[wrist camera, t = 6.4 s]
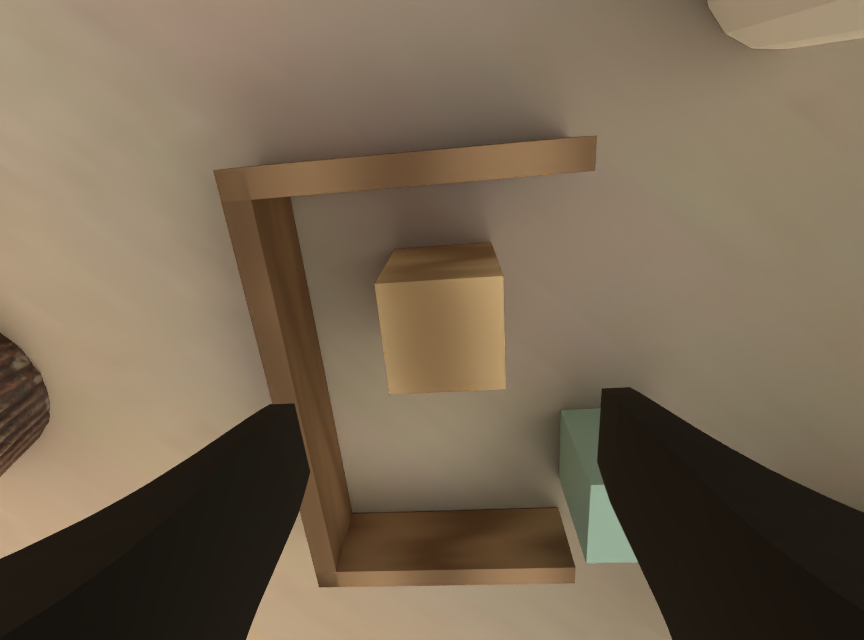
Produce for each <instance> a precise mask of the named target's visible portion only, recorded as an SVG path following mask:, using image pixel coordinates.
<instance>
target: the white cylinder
mask: <svg viewBox="0 0 864 640" xmlns="http://www.w3.org/2000/svg"><path fill="white" fill-rule="evenodd" d="M707 3H708V7H709V9H710V10H711V12H712V14H713V15H714V17H715V18H716V20H717V22H718V23H719V25H720V26H721V28H722V30H723V31H724V33H725V34H727V35H728V36H730V37H732V38H734V39H735V40H737V41H739V42H741V43H743V44H744V45H746V46H748V47H750V48H752V49H790V48H797V47H804V46H811V45H818V44H825V43H832V42H839V41H846V40H853V39H860V38H864V0H707Z"/></svg>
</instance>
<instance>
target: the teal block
mask: <svg viewBox="0 0 864 640" xmlns="http://www.w3.org/2000/svg"><path fill="white" fill-rule="evenodd" d="M600 410H601V408H593V409H571V410H561V414H560V454H559V479H560V482H561V485H562V488H563V491H564V494H565V498H566V501H567V504H568V507H569V510H570V513H571V517H572V520H573V523H574V526H575V529H576V532H577V535H578V539H579V542H580V545H581V548H582V551H583V554H584V557H585V561H586V563H622V562H638V561H637V559H636V557H635V555H634V552H633V550H632V548H631V546H630V544H629V542H628V540H627V538H626V536H625V534H624V531H623V529H622V527H621V525H620V523H619V521H618V518H617V516H616V514H615V512H614V510H613V508H612V505H611V503H610V500H609V498H608V495H607V492H606V489H605V486H604V483H603V479H602V476H601V473H600V470H599V466H598V463H597V455H598V440H599V425H600Z"/></svg>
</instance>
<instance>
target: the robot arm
mask: <svg viewBox="0 0 864 640" xmlns="http://www.w3.org/2000/svg"><path fill="white" fill-rule="evenodd" d="M597 463H598V466H599V470H600V473H601V476H602V479H603V483H604V486H605V489H606V492H607V495H608V498H609V500H610V503H611V505H612V508H613V510H614V512H615V514H616V516H617V518H618V521H619V523H620V525H621V527H622V529H623V531H624V534H625V536H626V538H627V540H628V542H629V544H630V546H631V548H632V550H633V552H634V555H635V557H636V559H637V561H638V563H639V565H640V567H641V569H642V571H643V574H644V576H645V578H646V580H647V582H648V584H649V586H650V588H651V590H652V593H653V595H654V597H655V599H656V601H657V603H658V605H659V608H660V610H661V613H662V615H663V617H664V620H665V622H666V624H667V627H668V629H669V632H670V635H671V637H672V640H864V513H863V512H860V511H858V510H856V509H853V508H851V507H849V506H846V505H844V504H842V503H840V502H837V501H835V500H833V499H830V498H828V497H826V496H824V495H822V494H820V493H818V492H815V491H813V490H811V489H809V488H807V487H805V486H803V485H801V484H798V483H796V482H794V481H792V480H790V479H788V478H786V477H784V476H782V475H780V474H778V473H776V472H774V471H772V470H770V469H768V468H766V467H764V466H762V465H760V464H759V463H757V462H755V461H753V460H751V459H749V458H748V457H746V456H744V455H742V454H740V453H738V452H737V451H735V450H733V449H731V448H729V447H728V446H726V445H724V444H722V443H721V442H719V441H717V440H715V439H714V438H712V437H710V436H709V435H707V434H705V433H704V432H702V431H700V430H699V429H697V428H695V427H694V426H692V425H691V424H689V423H687V422H686V421H684V420H682V419H681V418H679V417H678V416H676V415H674V414H673V413H671V412H670V411H668V410H667V409H665V408H663V407H662V406H660V405H659V404H657V403H655V402H654V401H652V400H651V399H649V398H647V397H646V396H644V395H642V394H641V393H639V392H637V391H636V390H634V389H632V388H630V387H627V388H606V389H602V395H601V410H600V425H599V440H598V455H597ZM309 475H310V468H309V464H308V460H307V455H306V451H305V447H304V442H303V438H302V434H301V429H300V425H299V421H298V416H297V412H296V408H295V403H289V404H270V405H268V406H266V407H264V408H263V409H261V410H259V411H258V412H256V413H255V414H253V415H251V416H250V417H248V418H247V419H245V420H244V421H242V422H241V423H240V424H238V425H237V426H235V427H234V428H232V429H231V430H229V431H228V432H226V433H225V434H223V435H222V436H221V437H219V438H218V439H216V440H215V441H213V442H212V443H210V444H209V445H207V446H206V447H204V448H203V449H201V450H200V451H198V452H197V453H196V454H194V455H192V456H191V457H189V458H188V459H186V460H185V461H183V462H181V463H180V464H178V465H177V466H175V467H174V468H172V469H170V470H169V471H167V472H166V473H164V474H163V475H161V476H159V477H158V478H156V479H155V480H153V481H152V482H150V483H148V484H147V485H145V486H143V487H142V488H140V489H138V490H136V491H135V492H133V493H131V494H130V495H128V496H126V497H124V498H123V499H121V500H119V501H117V502H115V503H113V504H111V505H110V506H108V507H106V508H104V509H102V510H100V511H99V512H97V513H95V514H93V515H91V516H89V517H87V518H85V519H83V520H81V521H79V522H77V523H75V524H73V525H71V526H69V527H67V528H65V529H63V530H61V531H59V532H57V533H55V534H52V535H50V536H48V537H46V538H44V539H42V540H40V541H38V542H36V543H34V544H32V545H30V546H27V547H25V548H23V549H21V550H19V551H17V552H15V553H12V554H10V555H8V556H6V557H3V558H1V559H0V640H246V638H247V635H248V632H249V629H250V627H251V624H252V621H253V619H254V616H255V614H256V611H257V609H258V606H259V604H260V602H261V599H262V597H263V595H264V592H265V590H266V588H267V585H268V583H269V581H270V579H271V576H272V574H273V572H274V569H275V567H276V565H277V562H278V560H279V558H280V556H281V553H282V551H283V549H284V546H285V544H286V542H287V539H288V537H289V535H290V532H291V530H292V528H293V525H294V523H295V521H296V518H297V516H298V513H299V511H300V507H301V504H302V501H303V497H304V494H305V490H306V486H307V483H308V479H309Z"/></svg>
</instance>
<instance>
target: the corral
mask: <svg viewBox="0 0 864 640" xmlns="http://www.w3.org/2000/svg"><path fill="white" fill-rule="evenodd" d="M596 143H597V136H584V137H568V138H557V139H546V140H535V141H524V142H513V143H502V144H491V145H480V146H468V147H457V148H446V149H435V150H424V151H413V152H402V153H391V154H380V155H369V156H358V157H347V158H336V159H324V160H313V161H302V162H291V163H280V164H269V165H258V166H249V167H239V168H230V169H221V170H213V171H214V175H215V179H216V183H217V187H218V191H219V195H220V198H221V202H222V206H223V210H224V214H225V218H226V222H227V226H228V230H229V234H230V238H231V242H232V246H233V250H234V254H235V258H236V261H237V265H238V269H239V273H240V277H241V281H242V285H243V289H244V293H245V297H246V301H247V305H248V309H249V313H250V317H251V321H252V324H253V328H254V332H255V336H256V340H257V344H258V348H259V352H260V356H261V360H262V364H263V368H264V372H265V376H266V380H267V384H268V387H269V391H270V395H271V399H272V403H273V404H289V403H295V408H296V412H297V416H298V421H299V425H300V429H301V434H302V438H303V442H304V447H305V451H306V455H307V460H308V464H309V468H310V475H309V479H308V483H307V486H306V490H305V494H304V497H303V501H302V504H301V507H300V513H301V517H302V521H303V525H304V529H305V533H306V537H307V541H308V545H309V549H310V553H311V557H312V561H313V565H314V569H315V573H316V576H317V580H318V584H319V587H371V586H433V585H496V584H559V583H575V565H574V561H573V558H572V554H571V551H570V547H569V544H568V540H567V537H566V533H565V530H564V526H563V523H562V519H561V516H560V512H559V509H558V508H535V509H500V510H465V511H430V512H395V513H360V514H352V510H351V505H350V499H349V494H348V489H347V484H346V479H345V474H344V469H343V464H342V459H341V454H340V449H339V444H338V439H337V434H336V429H335V423H334V418H333V413H332V408H331V403H330V398H329V393H328V388H327V383H326V378H325V373H324V368H323V363H322V358H321V353H320V347H319V342H318V337H317V332H316V327H315V322H314V317H313V312H312V307H311V302H310V297H309V292H308V287H307V282H306V276H305V271H304V266H303V261H302V256H301V251H300V246H299V241H298V236H297V231H296V226H295V221H294V216H293V211H292V206H291V200H290V196H302V195H314V194H326V193H338V192H349V191H361V190H373V189H385V188H397V187H409V186H421V185H432V184H444V183H456V182H468V181H480V180H492V179H504V178H515V177H527V176H539V175H551V174H563V173H575V172H587V171H595V163H596Z"/></svg>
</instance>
